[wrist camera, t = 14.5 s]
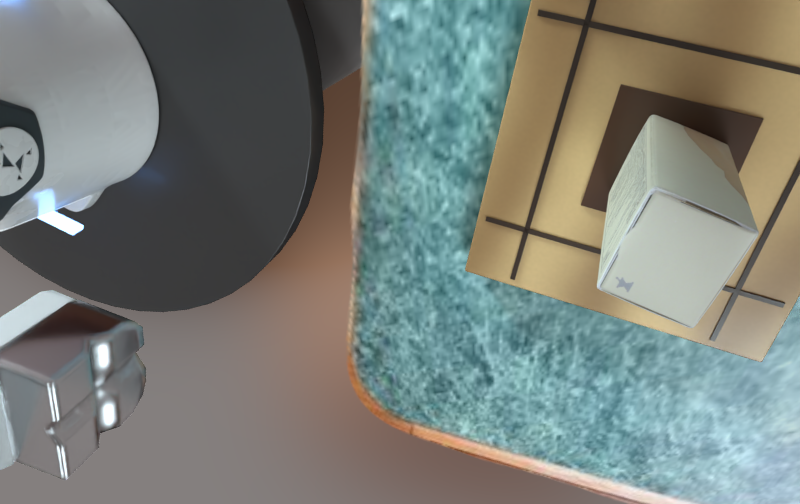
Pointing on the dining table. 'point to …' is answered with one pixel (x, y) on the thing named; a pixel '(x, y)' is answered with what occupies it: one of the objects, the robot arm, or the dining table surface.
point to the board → (616, 134)
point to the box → (674, 223)
